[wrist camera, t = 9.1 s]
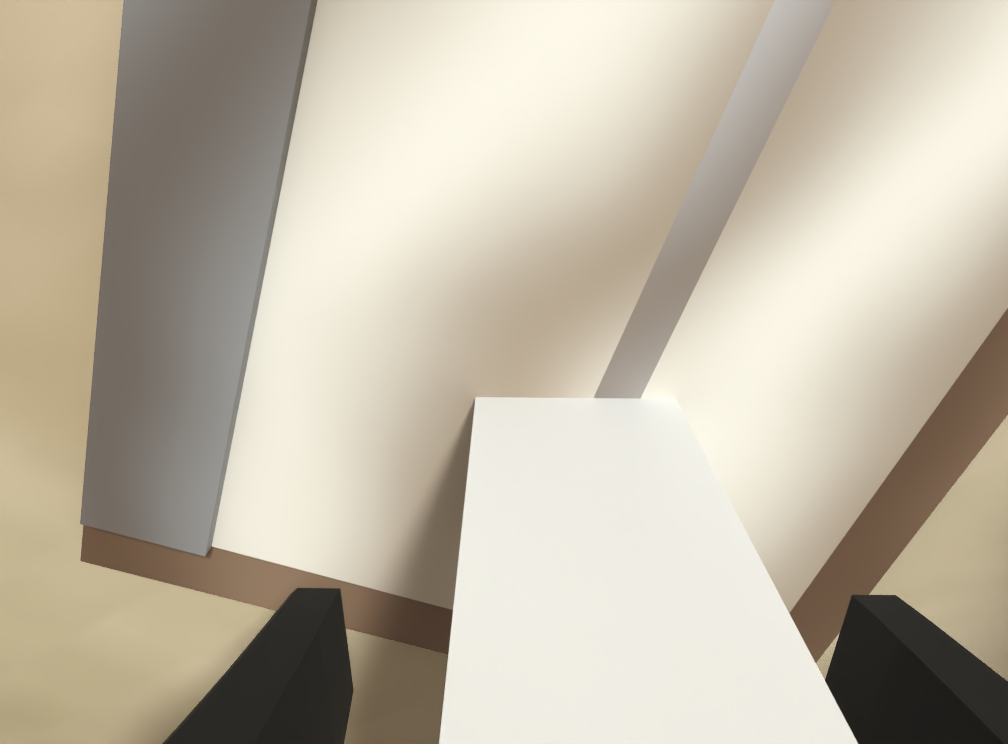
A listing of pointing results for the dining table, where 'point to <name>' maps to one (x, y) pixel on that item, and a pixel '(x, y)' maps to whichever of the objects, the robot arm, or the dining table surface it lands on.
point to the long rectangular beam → (616, 591)
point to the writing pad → (540, 275)
